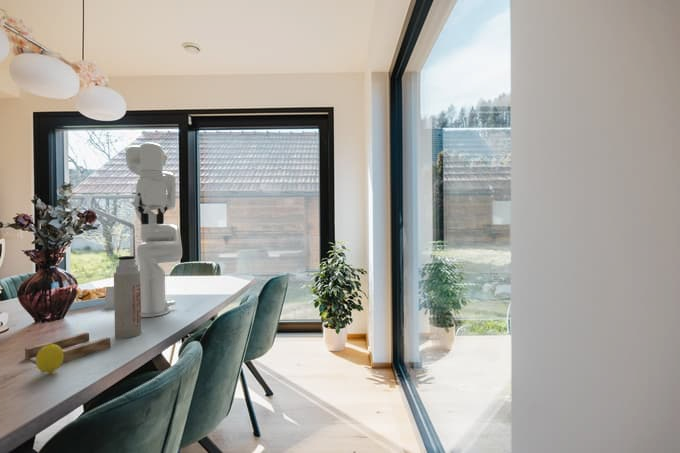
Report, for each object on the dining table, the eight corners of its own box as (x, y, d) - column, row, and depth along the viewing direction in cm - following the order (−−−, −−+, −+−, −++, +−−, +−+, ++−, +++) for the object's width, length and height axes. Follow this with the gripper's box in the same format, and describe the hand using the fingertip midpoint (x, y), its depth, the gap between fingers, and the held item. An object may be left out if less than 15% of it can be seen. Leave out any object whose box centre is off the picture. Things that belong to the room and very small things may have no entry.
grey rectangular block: (122, 307, 159) (121, 286, 159) (105, 309, 156) (104, 287, 156) (124, 305, 162) (123, 285, 162) (107, 307, 160) (107, 286, 160)
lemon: (47, 369, 91) (46, 340, 91) (69, 368, 92) (68, 339, 92) (30, 378, 86) (29, 347, 86) (53, 377, 86) (52, 346, 86)
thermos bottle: (146, 331, 122) (145, 255, 122) (128, 339, 115) (127, 257, 114) (128, 330, 124) (126, 255, 124) (109, 337, 116) (107, 257, 116)
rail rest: (85, 341, 113) (85, 332, 113) (110, 347, 107) (110, 338, 107) (25, 358, 99) (25, 348, 99) (49, 367, 93) (49, 356, 93)
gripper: (165, 179, 137) (166, 224, 137) (122, 174, 121) (123, 224, 122) (178, 178, 134) (179, 223, 134) (135, 172, 118) (136, 224, 118)
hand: (152, 223), depth 128 cm, fingers open, 5 cm apart
